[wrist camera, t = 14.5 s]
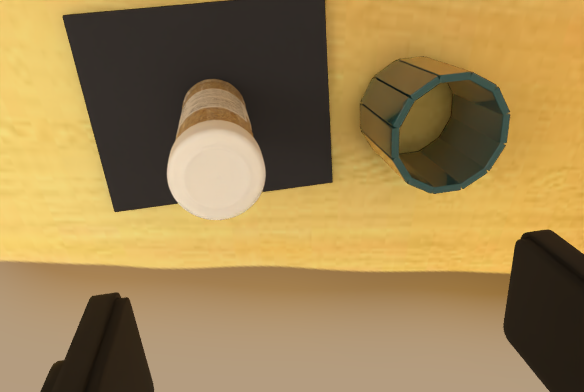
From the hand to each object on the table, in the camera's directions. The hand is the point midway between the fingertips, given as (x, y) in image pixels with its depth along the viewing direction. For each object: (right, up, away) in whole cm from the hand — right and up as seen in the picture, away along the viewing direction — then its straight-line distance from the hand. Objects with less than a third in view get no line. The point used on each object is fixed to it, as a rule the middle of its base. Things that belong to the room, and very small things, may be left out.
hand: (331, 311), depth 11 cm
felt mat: (-7, +9, +23) cm, 25 cm away
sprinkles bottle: (-7, +9, +22) cm, 25 cm away
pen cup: (+8, +10, +25) cm, 28 cm away
